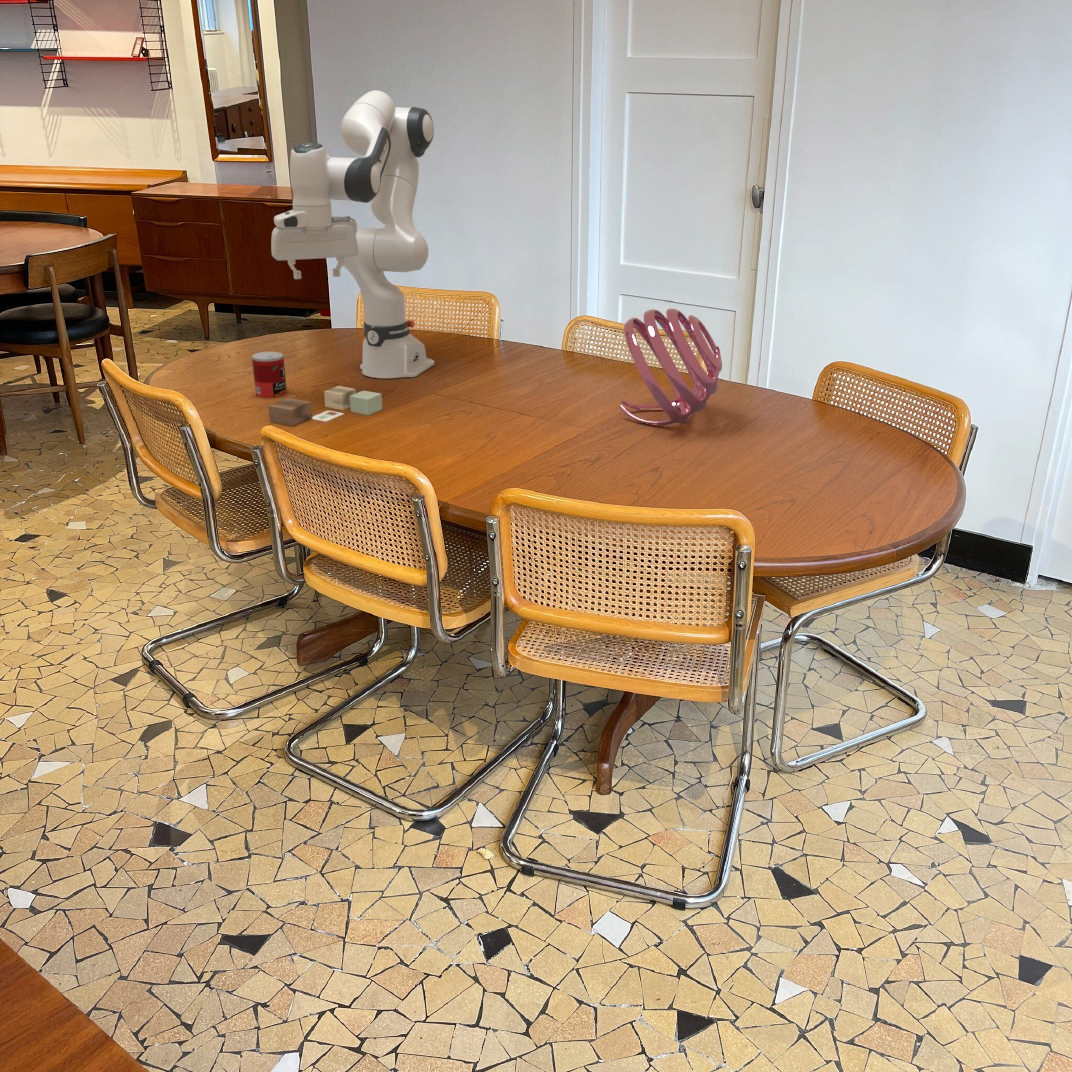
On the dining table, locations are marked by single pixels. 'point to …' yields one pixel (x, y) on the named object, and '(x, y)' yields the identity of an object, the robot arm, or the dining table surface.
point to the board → (326, 416)
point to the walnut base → (290, 411)
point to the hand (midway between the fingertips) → (317, 277)
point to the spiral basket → (683, 393)
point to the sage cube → (366, 402)
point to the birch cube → (338, 397)
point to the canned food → (269, 374)
